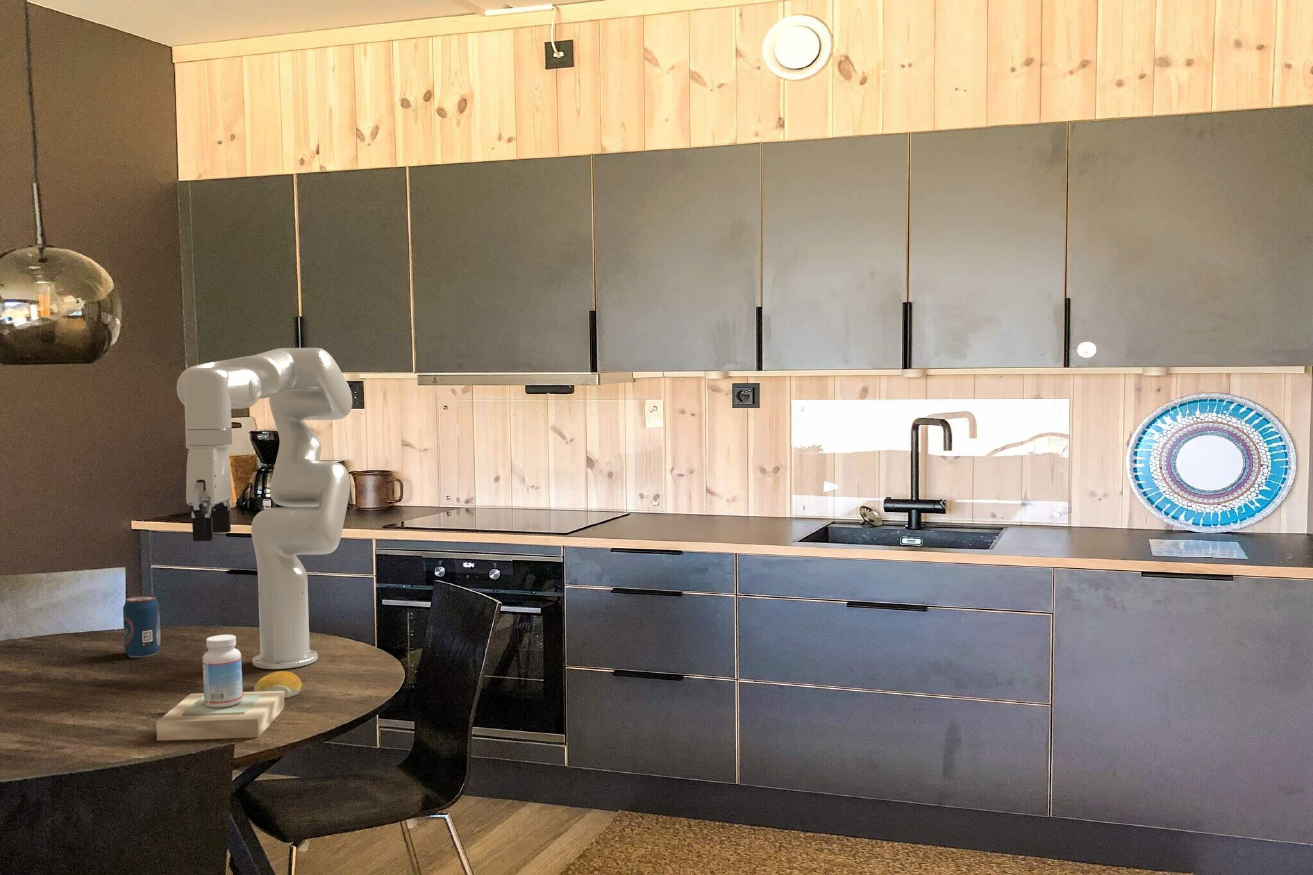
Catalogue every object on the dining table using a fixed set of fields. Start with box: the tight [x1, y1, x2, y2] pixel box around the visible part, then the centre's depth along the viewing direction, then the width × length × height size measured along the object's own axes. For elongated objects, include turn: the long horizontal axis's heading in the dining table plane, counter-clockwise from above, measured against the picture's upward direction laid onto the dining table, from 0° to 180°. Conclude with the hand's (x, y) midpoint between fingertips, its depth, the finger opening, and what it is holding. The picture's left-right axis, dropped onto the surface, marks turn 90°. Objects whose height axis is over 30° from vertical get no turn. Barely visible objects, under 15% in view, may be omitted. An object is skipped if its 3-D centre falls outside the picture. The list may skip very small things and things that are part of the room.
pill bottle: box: [202, 634, 244, 708], centre depth 189 cm, size 6×6×11 cm
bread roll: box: [253, 670, 303, 700], centre depth 207 cm, size 8×9×4 cm
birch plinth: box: [155, 691, 285, 741], centre depth 189 cm, size 16×16×3 cm
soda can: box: [122, 594, 162, 659], centre depth 236 cm, size 7×7×12 cm
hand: (212, 536), depth 197 cm, fingers open, 9 cm apart
